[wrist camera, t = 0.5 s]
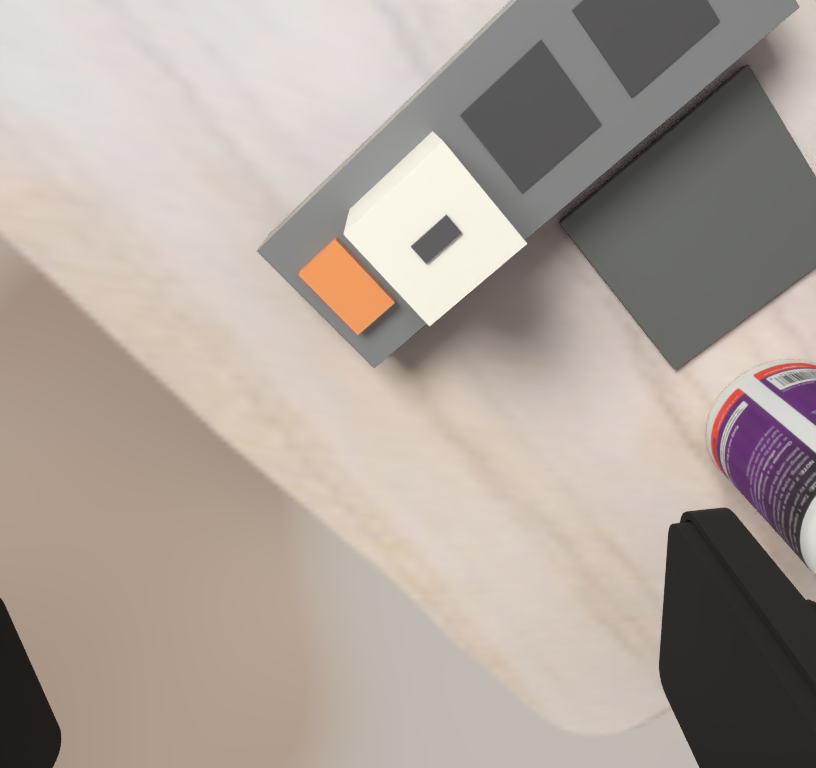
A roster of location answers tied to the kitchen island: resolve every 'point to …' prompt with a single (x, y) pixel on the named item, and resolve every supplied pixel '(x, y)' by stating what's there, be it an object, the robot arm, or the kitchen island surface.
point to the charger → (431, 230)
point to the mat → (704, 221)
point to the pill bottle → (772, 447)
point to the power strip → (517, 131)
